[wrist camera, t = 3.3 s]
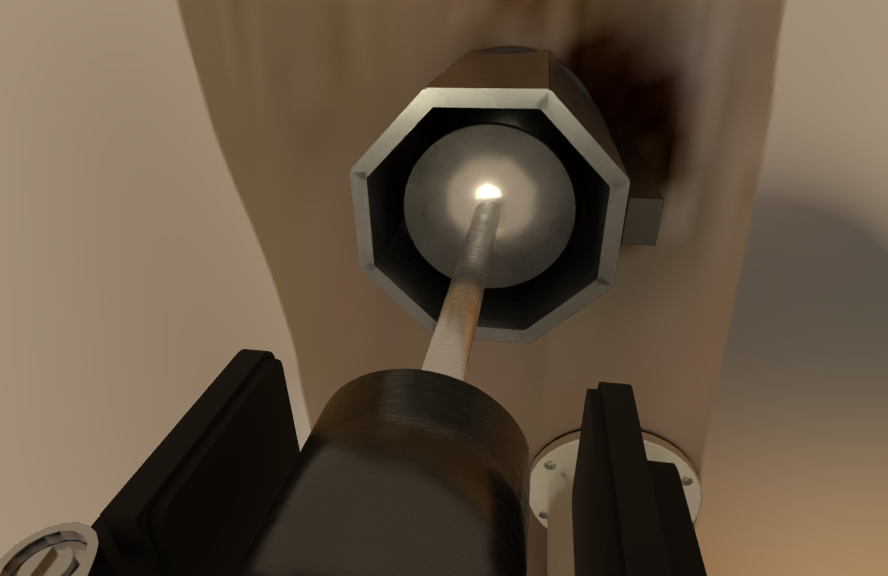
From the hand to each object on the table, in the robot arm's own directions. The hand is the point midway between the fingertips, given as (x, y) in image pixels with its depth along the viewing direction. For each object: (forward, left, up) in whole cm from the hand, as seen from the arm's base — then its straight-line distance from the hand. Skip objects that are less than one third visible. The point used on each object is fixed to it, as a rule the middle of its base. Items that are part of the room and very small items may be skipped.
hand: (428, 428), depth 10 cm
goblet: (0, 0, -12) cm, 12 cm away
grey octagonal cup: (0, 0, -23) cm, 23 cm away
